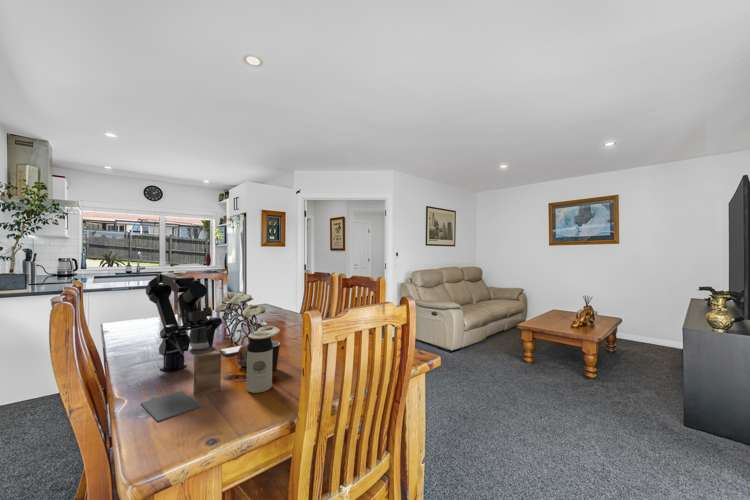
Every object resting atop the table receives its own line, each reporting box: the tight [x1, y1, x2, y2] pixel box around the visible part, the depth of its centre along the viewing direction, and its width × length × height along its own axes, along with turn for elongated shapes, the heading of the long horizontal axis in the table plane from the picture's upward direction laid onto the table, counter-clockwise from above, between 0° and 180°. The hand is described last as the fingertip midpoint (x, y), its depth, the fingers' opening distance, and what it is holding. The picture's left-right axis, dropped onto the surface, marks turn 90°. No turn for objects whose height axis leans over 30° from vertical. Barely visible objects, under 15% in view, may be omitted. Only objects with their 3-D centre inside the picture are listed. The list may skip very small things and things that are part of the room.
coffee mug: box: [271, 340, 281, 373], centre depth 122 cm, size 12×9×10 cm
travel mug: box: [246, 331, 273, 394], centre depth 105 cm, size 8×8×18 cm
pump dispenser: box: [188, 317, 210, 351], centre depth 147 cm, size 10×10×15 cm
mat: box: [140, 390, 202, 423], centre depth 92 cm, size 15×11×1 cm
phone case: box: [219, 345, 242, 357], centre depth 144 cm, size 9×2×16 cm
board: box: [192, 350, 222, 397], centre depth 102 cm, size 4×7×12 cm, turn 141°
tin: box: [236, 342, 249, 368], centre depth 129 cm, size 15×3×8 cm, turn 168°
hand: (197, 350), depth 109 cm, fingers open, 9 cm apart
